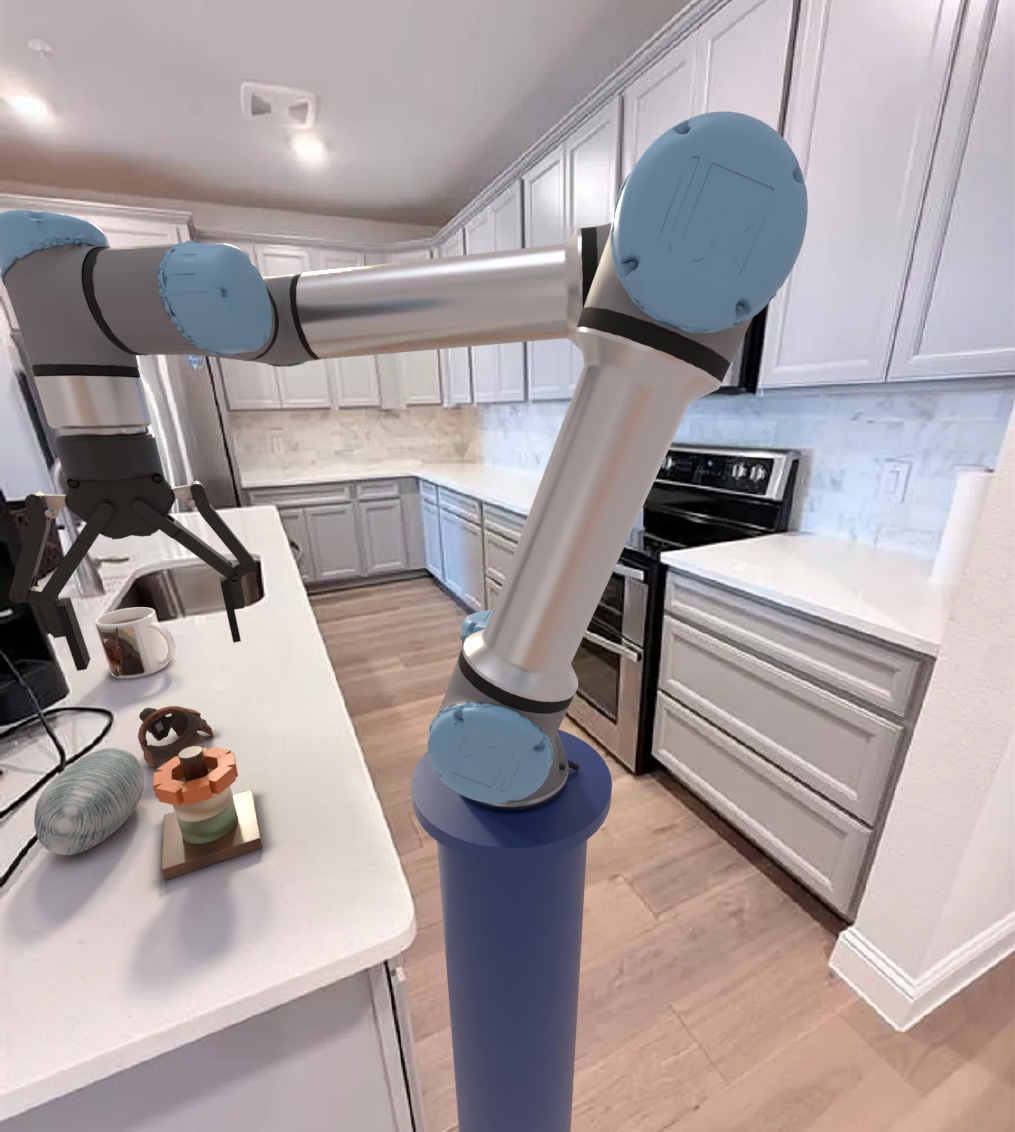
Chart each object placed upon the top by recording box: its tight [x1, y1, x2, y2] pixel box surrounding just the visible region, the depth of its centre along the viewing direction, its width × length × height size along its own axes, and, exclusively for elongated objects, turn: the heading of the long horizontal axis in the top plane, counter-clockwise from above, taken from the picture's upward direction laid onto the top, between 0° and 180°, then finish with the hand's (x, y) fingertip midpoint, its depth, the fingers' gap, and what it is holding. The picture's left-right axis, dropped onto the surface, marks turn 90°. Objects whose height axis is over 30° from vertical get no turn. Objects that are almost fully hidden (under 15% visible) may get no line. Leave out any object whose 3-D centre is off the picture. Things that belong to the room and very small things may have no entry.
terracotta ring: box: [152, 746, 239, 806], centre depth 63 cm, size 8×8×2 cm
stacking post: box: [160, 745, 263, 881], centre depth 64 cm, size 10×10×12 cm
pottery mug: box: [137, 705, 214, 768], centre depth 82 cm, size 12×10×8 cm
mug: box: [94, 606, 176, 679], centre depth 107 cm, size 10×12×11 cm
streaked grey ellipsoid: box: [33, 747, 145, 856], centre depth 67 cm, size 14×10×10 cm
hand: (164, 650), depth 57 cm, fingers open, 13 cm apart
